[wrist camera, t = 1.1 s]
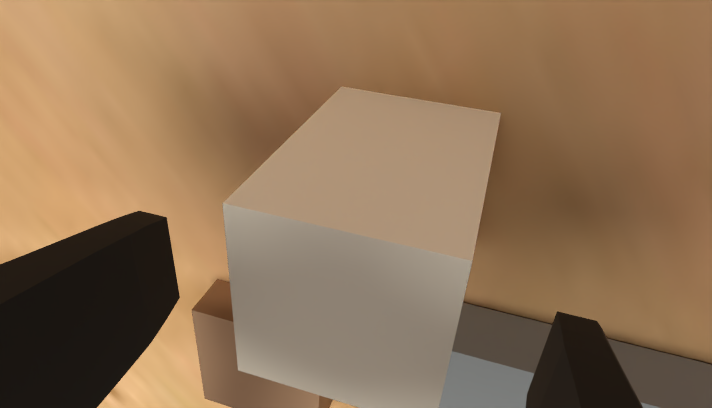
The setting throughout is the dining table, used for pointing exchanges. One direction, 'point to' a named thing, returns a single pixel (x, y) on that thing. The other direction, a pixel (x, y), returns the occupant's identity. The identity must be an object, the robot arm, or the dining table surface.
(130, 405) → the dining table surface
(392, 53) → the dining table surface
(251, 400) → the short block
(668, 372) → the board
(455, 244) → the peg
